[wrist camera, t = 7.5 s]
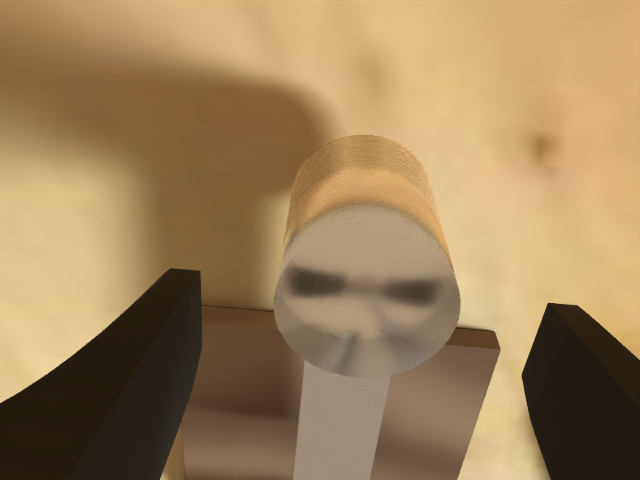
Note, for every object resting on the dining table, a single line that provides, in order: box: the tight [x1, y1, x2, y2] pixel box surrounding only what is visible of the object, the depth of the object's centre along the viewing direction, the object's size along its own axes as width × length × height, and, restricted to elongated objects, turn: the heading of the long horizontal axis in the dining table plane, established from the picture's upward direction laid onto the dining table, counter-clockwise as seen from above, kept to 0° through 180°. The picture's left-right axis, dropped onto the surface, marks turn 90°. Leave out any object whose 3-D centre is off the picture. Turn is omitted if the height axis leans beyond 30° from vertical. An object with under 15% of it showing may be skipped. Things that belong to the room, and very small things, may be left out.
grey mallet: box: [274, 135, 460, 480], centre depth 17 cm, size 14×4×5 cm, turn 175°
